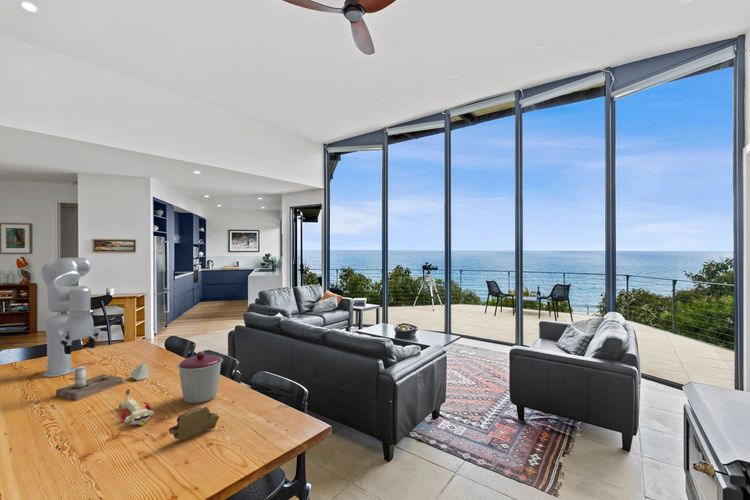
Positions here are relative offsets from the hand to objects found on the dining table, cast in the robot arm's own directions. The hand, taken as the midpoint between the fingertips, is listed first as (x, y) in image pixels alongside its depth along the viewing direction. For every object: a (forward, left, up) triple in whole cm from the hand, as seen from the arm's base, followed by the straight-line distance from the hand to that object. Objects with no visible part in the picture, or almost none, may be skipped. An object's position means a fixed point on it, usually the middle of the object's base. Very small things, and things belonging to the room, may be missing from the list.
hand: (80, 350), depth 158 cm
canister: (+58, +12, -20) cm, 63 cm away
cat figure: (+45, -8, -20) cm, 50 cm away
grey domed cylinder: (0, 0, -20) cm, 20 cm away
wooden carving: (+80, -13, -20) cm, 84 cm away
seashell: (+8, +22, -20) cm, 31 cm away
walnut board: (0, +4, -20) cm, 20 cm away
